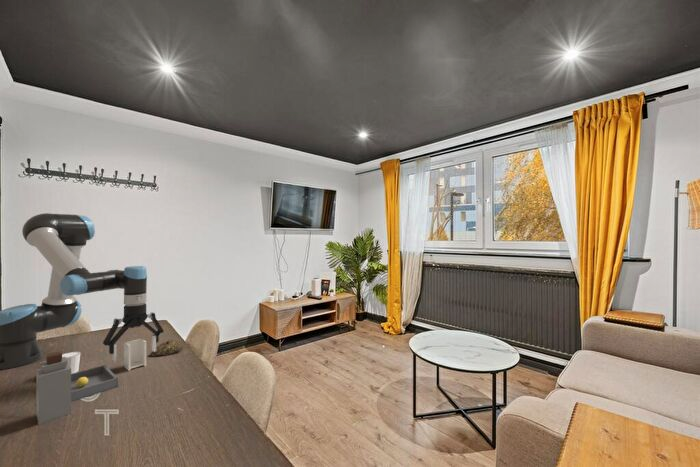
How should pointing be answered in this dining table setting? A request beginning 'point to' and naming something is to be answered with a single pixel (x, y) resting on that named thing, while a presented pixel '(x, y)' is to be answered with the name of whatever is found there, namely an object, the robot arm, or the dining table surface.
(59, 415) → the perfume bottle
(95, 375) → the tray
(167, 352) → the bread roll
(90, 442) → the dining table surface
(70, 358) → the shot glass
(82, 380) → the ball
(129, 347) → the white u-shaped stool
